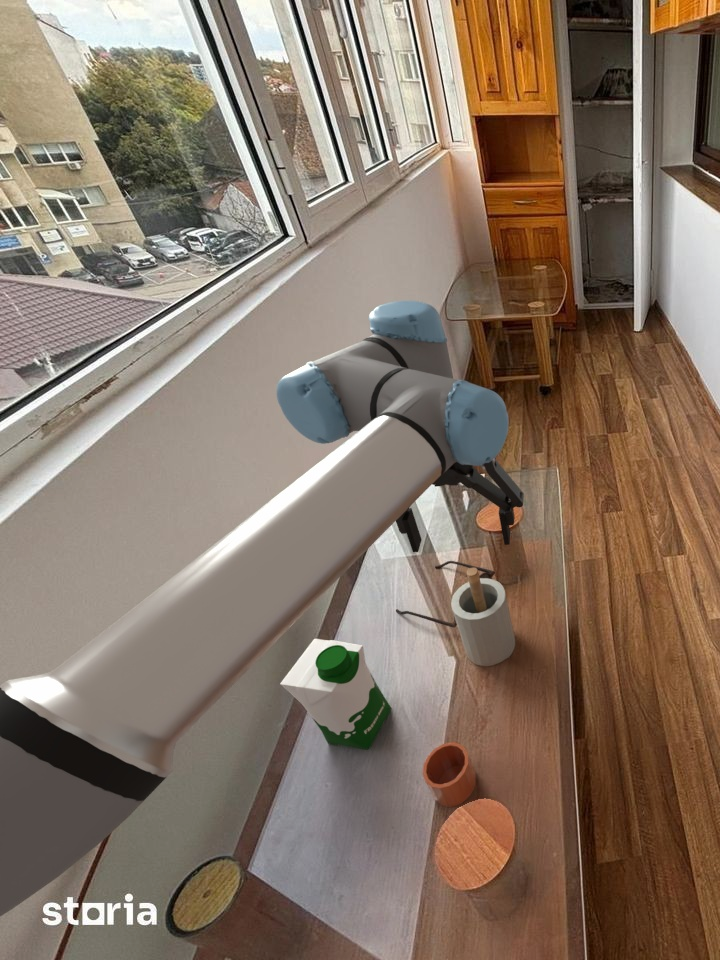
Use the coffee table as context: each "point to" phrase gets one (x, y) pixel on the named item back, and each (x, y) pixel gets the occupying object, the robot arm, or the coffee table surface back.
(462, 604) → the cup
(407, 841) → the coffee table surface
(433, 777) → the holder
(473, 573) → the brush
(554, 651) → the coffee table surface
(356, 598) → the coffee table surface
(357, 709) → the milk carton
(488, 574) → the eyeglasses
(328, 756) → the coffee table surface
